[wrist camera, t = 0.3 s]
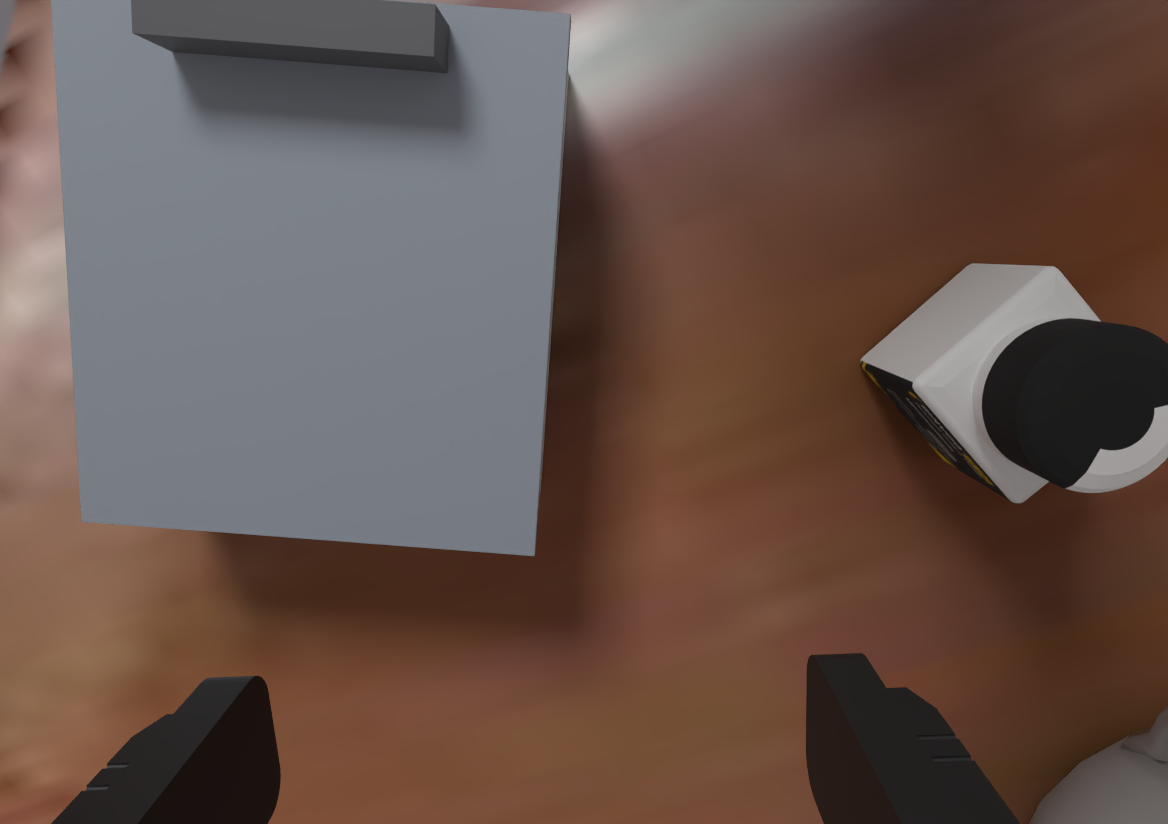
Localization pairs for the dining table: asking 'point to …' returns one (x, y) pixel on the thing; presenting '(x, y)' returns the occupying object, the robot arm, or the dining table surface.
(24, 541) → the dining table surface
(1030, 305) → the medicine bottle
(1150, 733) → the chamber pot
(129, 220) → the lid
